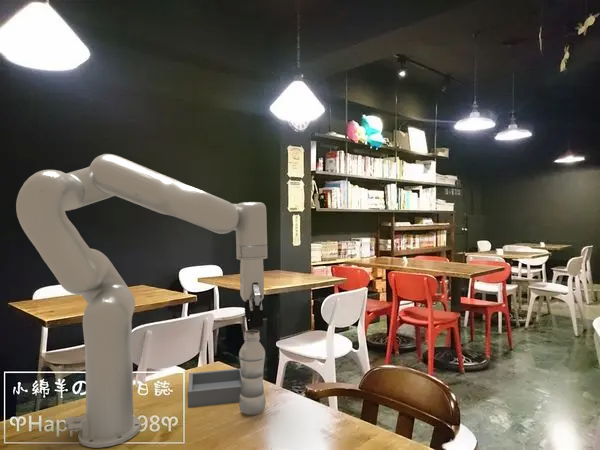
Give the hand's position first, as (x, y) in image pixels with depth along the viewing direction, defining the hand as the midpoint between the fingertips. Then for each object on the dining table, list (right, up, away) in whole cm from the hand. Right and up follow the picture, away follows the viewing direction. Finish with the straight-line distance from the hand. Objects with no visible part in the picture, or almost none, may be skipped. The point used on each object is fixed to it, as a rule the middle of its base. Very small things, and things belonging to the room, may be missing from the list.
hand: (253, 321), depth 101 cm
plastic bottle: (0, -23, 0) cm, 23 cm away
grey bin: (-11, -22, +11) cm, 27 cm away
